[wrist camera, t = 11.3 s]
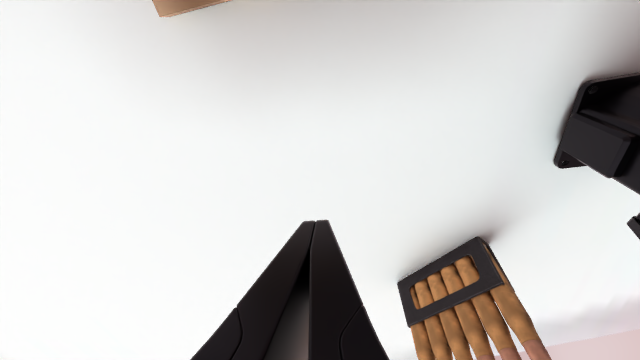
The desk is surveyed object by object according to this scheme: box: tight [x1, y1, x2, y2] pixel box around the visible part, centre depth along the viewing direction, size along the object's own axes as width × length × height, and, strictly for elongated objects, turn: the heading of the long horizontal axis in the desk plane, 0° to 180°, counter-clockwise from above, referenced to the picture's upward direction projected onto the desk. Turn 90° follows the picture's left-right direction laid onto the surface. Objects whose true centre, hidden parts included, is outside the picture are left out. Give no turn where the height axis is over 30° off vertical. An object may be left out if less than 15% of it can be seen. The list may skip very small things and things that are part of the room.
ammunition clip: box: [397, 237, 551, 360], centre depth 22 cm, size 11×2×12 cm, turn 143°
